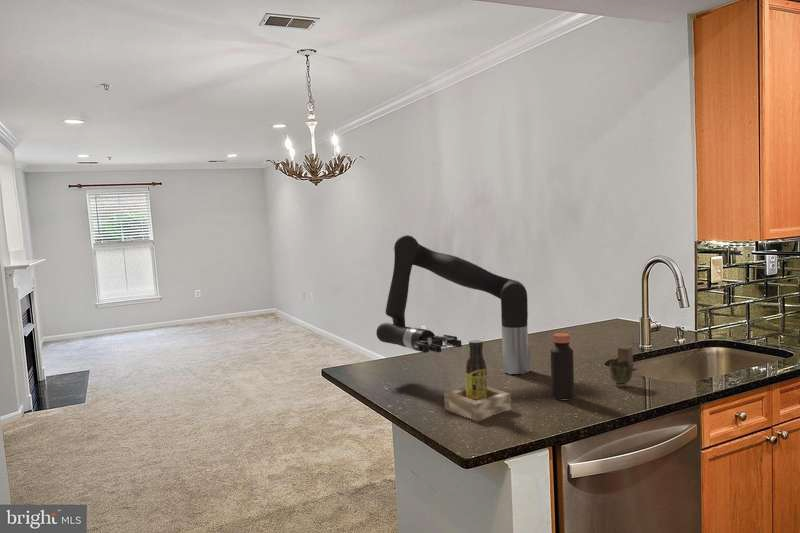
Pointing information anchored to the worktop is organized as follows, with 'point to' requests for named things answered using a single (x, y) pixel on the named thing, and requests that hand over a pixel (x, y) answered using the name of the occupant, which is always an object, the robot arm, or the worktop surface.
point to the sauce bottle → (476, 372)
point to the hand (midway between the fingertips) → (450, 346)
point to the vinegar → (562, 367)
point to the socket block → (477, 403)
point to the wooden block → (625, 354)
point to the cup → (621, 372)
